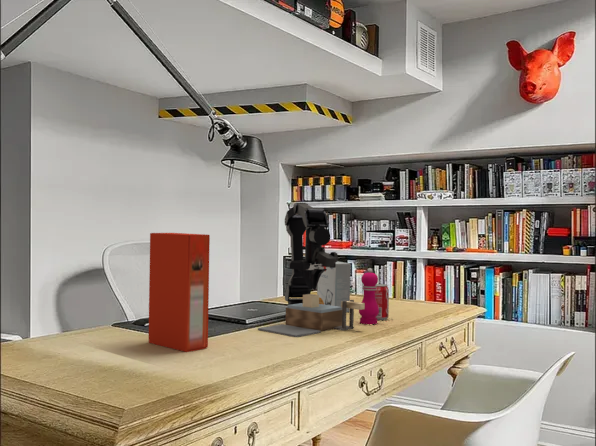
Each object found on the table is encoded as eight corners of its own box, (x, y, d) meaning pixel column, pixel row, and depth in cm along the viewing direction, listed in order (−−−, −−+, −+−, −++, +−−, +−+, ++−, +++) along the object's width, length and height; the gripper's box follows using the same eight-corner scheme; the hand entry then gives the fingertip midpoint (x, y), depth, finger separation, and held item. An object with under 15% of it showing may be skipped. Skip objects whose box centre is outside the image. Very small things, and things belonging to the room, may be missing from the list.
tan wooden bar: (341, 307, 211) (341, 301, 211) (345, 306, 213) (345, 300, 213) (360, 309, 206) (360, 303, 206) (364, 309, 207) (364, 303, 207)
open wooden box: (285, 325, 216) (286, 296, 216) (309, 321, 226) (310, 294, 226) (330, 333, 203) (331, 303, 203) (354, 328, 212) (354, 299, 212)
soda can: (389, 320, 231) (390, 286, 231) (370, 320, 231) (371, 285, 231) (387, 317, 238) (388, 284, 238) (368, 317, 238) (369, 283, 238)
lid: (287, 310, 216) (287, 293, 216) (308, 307, 224) (308, 291, 224) (321, 315, 206) (321, 298, 206) (341, 312, 214) (342, 295, 214)
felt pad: (257, 329, 205) (257, 328, 205) (282, 325, 214) (282, 324, 214) (296, 337, 194) (296, 335, 194) (320, 332, 203) (320, 330, 203)
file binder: (184, 352, 168) (187, 234, 168) (147, 342, 180) (150, 232, 180) (207, 348, 174) (210, 234, 174) (170, 339, 186) (172, 232, 186)
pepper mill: (372, 325, 219) (373, 269, 219) (354, 323, 223) (356, 267, 223) (382, 323, 225) (383, 268, 225) (365, 320, 229) (366, 266, 229)
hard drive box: (316, 307, 261) (317, 260, 261) (332, 307, 264) (333, 260, 264) (333, 313, 247) (334, 263, 247) (350, 312, 250) (351, 263, 250)
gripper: (314, 245, 201) (313, 293, 201) (348, 244, 215) (347, 289, 215) (288, 244, 208) (287, 290, 209) (323, 243, 223) (322, 286, 223)
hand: (312, 289), depth 214 cm, fingers closed
